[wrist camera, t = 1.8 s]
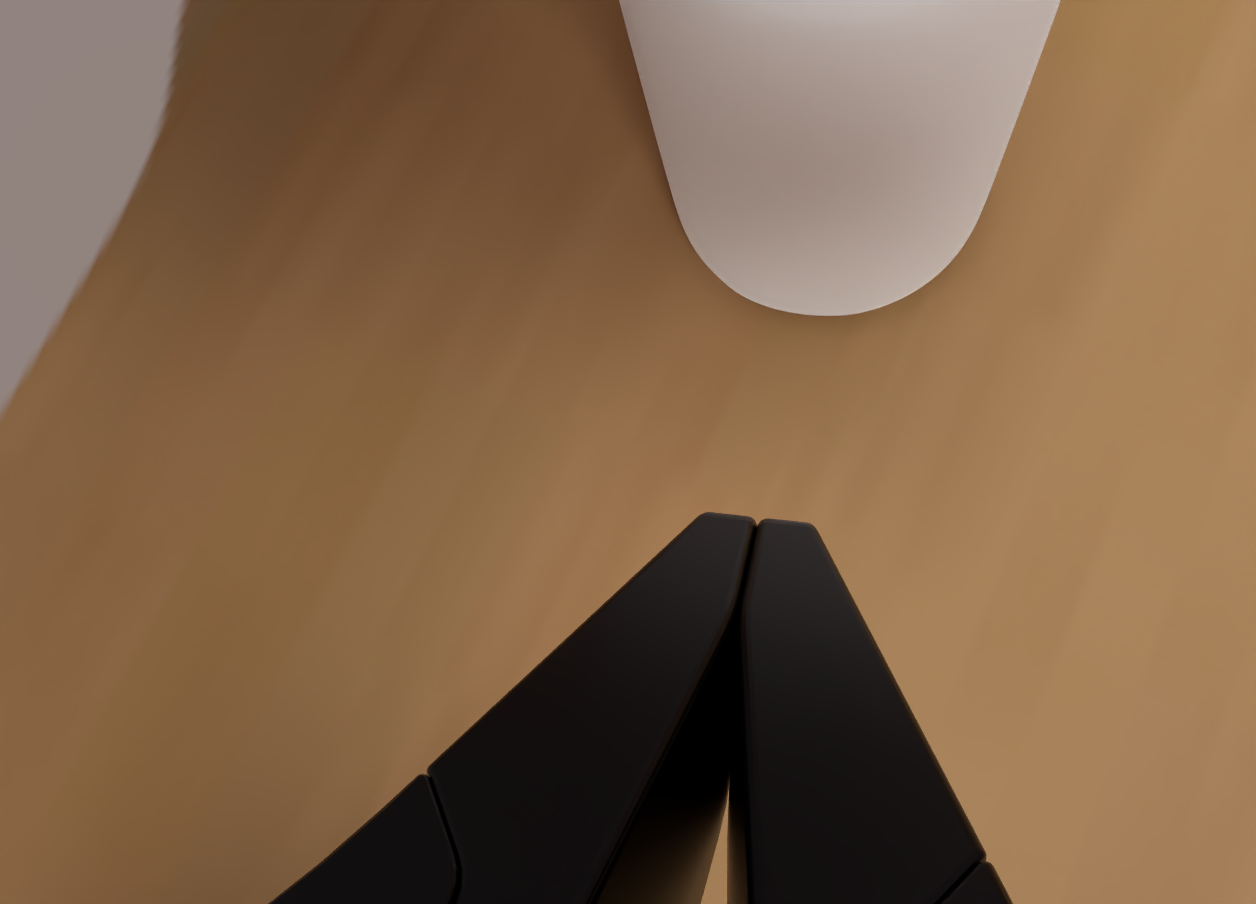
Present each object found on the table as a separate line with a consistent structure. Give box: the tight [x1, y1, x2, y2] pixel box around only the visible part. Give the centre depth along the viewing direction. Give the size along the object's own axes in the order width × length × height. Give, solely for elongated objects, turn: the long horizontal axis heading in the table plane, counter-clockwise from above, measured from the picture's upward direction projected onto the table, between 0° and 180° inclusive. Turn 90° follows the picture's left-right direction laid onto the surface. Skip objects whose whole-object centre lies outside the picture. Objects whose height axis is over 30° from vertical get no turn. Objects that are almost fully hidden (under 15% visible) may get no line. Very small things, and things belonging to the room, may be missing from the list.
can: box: [619, 0, 1061, 316], centre depth 18 cm, size 6×6×12 cm
